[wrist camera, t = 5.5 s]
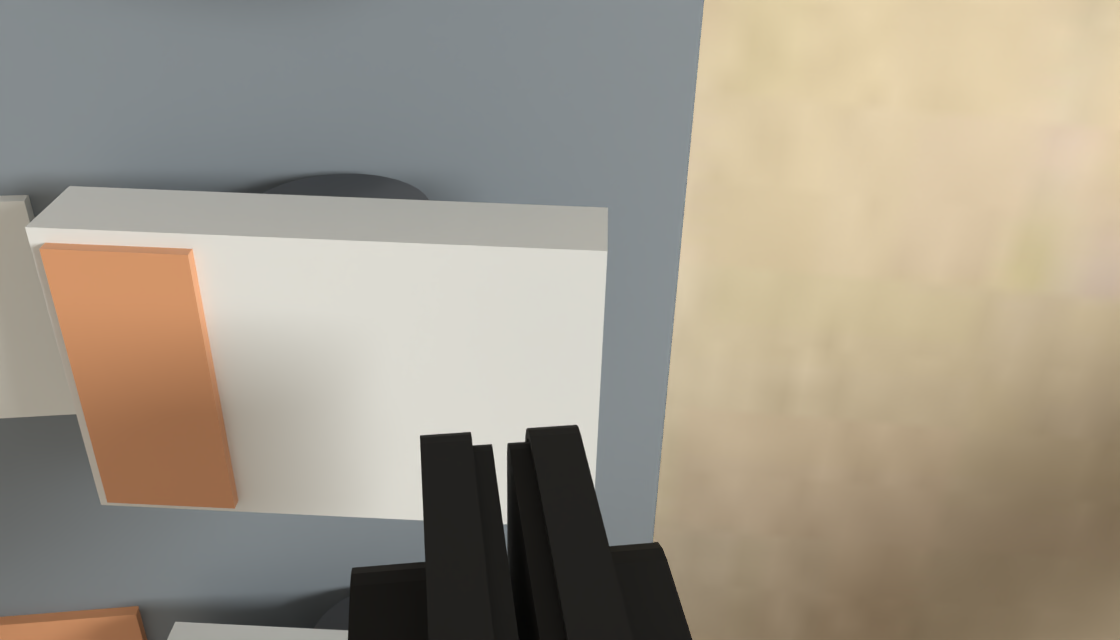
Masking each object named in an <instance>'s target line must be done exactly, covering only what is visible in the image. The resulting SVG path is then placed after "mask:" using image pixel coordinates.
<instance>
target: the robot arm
mask: <svg viewBox="0 0 1120 640" xmlns="http://www.w3.org/2000/svg"><path fill="white" fill-rule="evenodd" d="M420 452H421V475H422V499H423V522H424V545H425V562H414V563H402V564H390V565H378V566H366V567H354V568H352V571H351V579H350V599H349V623H348V640H692V638H691V634H690V631H689V628H688V625H687V622H686V619H685V615H684V612H683V609H682V606H681V603H680V600H679V596H678V593H677V590H676V587H675V584H674V581H673V577H672V574H671V571H670V568H669V565H668V562H667V559H666V556H665V554H664V551H663V549H662V547H661V546H660V544H659V543H658V542H654V543H642V544H630V545H618V546H609V543H608V539H607V535H606V531H605V527H604V523H603V519H602V515H601V511H600V508H599V504H598V500H597V496H596V492H595V488H594V484H593V480H592V476H591V472H590V468H589V464H588V461H587V457H586V453H585V449H584V445H583V441H582V437H581V433H580V430H579V427H578V426H577V425H564V426H550V427H535V428H527V429H526V434H525V442H515V443H508V444H507V549H506V542H505V534H504V527H503V520H502V512H501V505H500V498H499V491H498V483H497V476H496V469H495V461H494V454H493V447H492V444H486V445H473V444H472V436H471V432H461V433H446V434H431V435H420Z"/></svg>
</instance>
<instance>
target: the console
mask: <svg viewBox="0 0 1120 640" xmlns="http://www.w3.org/2000/svg"><path fill="white" fill-rule="evenodd" d="M703 5H704V0H0V640H167V639H168V636H169V634H170V632H171V630H172V628H173V626H174V624H175V622H191V623H211V624H231V625H250V626H270V627H290V628H310V629H314V627H315V626H316V624H317V622H318V621H319V620H320V618H321V617H322V616H323V615H324V614H325V613H326V612H327V611H328V610H329V609H330V608H331V607H333V606H334V605H335V604H337V603H338V602H340V601H342V600H343V599H345V598H347V597H349V596H350V579H351V571H352V568H354V567H366V566H378V565H390V564H402V563H414V562H425V545H424V522H423V520H404V519H383V518H362V517H341V516H321V515H300V514H279V513H258V512H237V511H216V510H195V509H175V508H154V507H133V506H112V505H101V503H100V499H99V496H98V492H97V488H96V485H95V481H94V477H93V474H92V470H91V466H90V463H89V459H88V455H87V452H86V448H85V444H84V441H83V437H82V434H81V430H80V426H79V423H78V419H77V415H76V412H75V408H74V404H73V401H72V397H71V393H70V390H69V386H68V382H67V379H66V375H65V371H64V368H63V364H62V360H61V357H60V353H59V350H58V346H57V342H56V339H55V335H54V331H53V328H52V324H51V320H50V317H49V313H48V309H47V306H46V302H45V298H44V295H43V291H42V287H41V284H40V280H39V276H38V273H37V269H36V265H35V262H34V258H33V255H32V251H31V247H30V244H29V240H28V236H27V233H26V229H25V227H26V226H27V225H28V224H29V223H30V222H31V221H32V220H33V219H34V218H35V217H37V216H38V215H39V214H40V213H41V212H42V211H43V210H44V209H45V208H46V207H47V206H48V205H50V204H51V203H52V202H53V201H54V200H55V199H56V198H57V197H58V196H59V195H60V194H61V193H62V192H64V191H65V190H66V189H67V188H68V187H69V186H82V187H107V188H132V189H157V190H182V191H207V192H232V193H257V194H263V193H264V192H266V191H268V190H270V189H272V188H275V187H277V186H279V185H282V184H285V183H288V182H291V181H295V180H299V179H303V178H308V177H313V176H320V175H330V174H369V175H377V176H383V177H388V178H392V179H396V180H400V181H402V182H405V183H408V184H410V185H412V186H414V187H416V188H417V189H419V190H420V191H421V192H423V193H424V194H425V195H426V197H427V198H428V199H429V200H431V201H456V202H481V203H506V204H531V205H556V206H580V207H605V208H608V252H607V270H606V289H605V308H604V326H603V345H602V364H601V383H600V401H599V420H598V439H597V458H596V476H595V492H596V496H597V500H598V504H599V508H600V511H601V515H602V519H603V523H604V527H605V531H606V535H607V539H608V543H609V546H618V545H630V544H642V543H653V533H654V523H655V512H656V502H657V491H658V480H659V470H660V459H661V449H662V438H663V428H664V417H665V406H666V396H667V385H668V375H669V364H670V354H671V343H672V333H673V322H674V311H675V301H676V290H677V280H678V269H679V259H680V248H681V237H682V227H683V216H684V206H685V195H686V185H687V174H688V164H689V153H690V142H691V132H692V121H693V111H694V100H695V90H696V79H697V68H698V58H699V47H700V37H701V26H702V16H703ZM503 527H504V534H505V542H506V549H507V524H503Z"/></svg>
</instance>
